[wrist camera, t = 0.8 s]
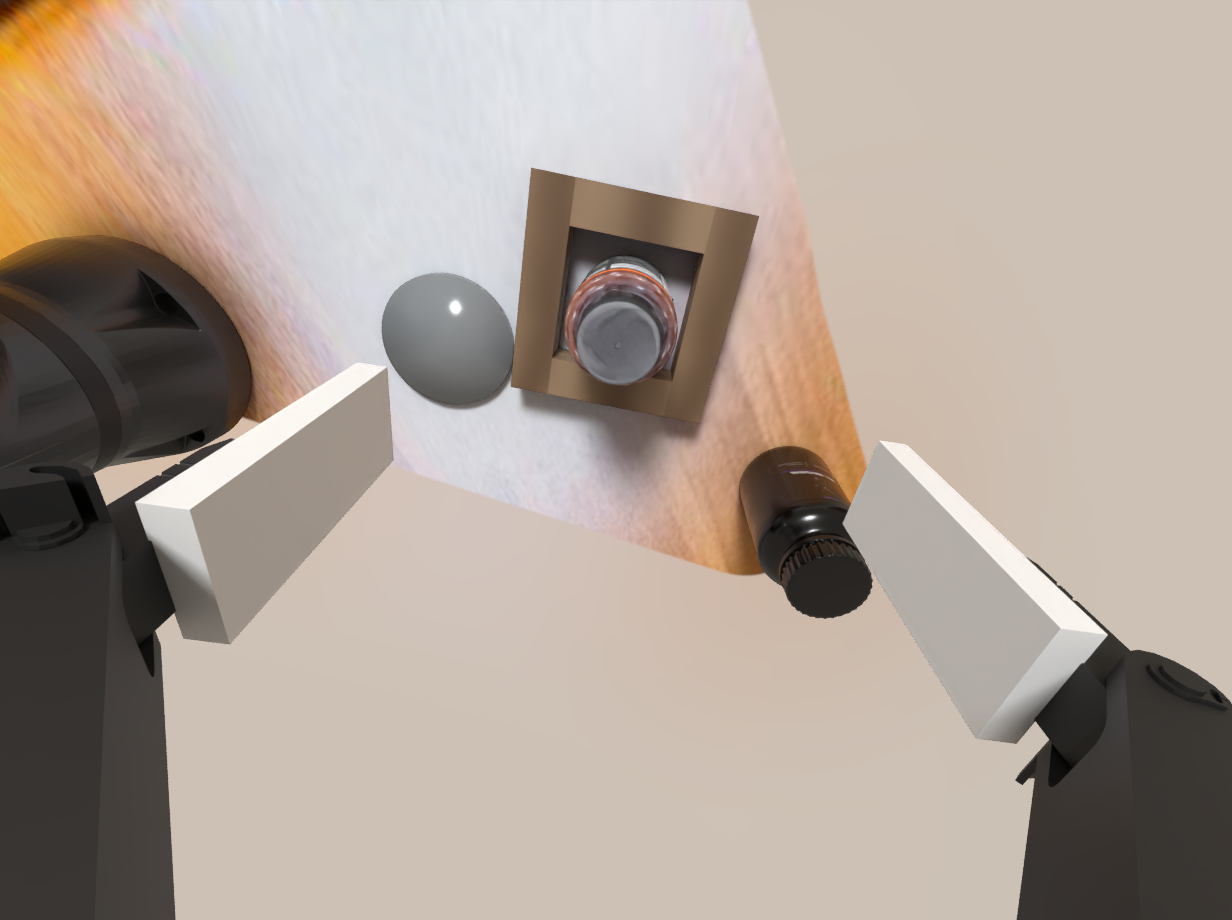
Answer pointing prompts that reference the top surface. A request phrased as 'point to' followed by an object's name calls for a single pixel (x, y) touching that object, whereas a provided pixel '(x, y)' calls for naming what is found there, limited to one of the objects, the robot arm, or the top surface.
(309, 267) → the top surface
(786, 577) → the supplement bottle
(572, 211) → the frame
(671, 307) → the supplement bottle
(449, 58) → the top surface
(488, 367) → the slate coaster
